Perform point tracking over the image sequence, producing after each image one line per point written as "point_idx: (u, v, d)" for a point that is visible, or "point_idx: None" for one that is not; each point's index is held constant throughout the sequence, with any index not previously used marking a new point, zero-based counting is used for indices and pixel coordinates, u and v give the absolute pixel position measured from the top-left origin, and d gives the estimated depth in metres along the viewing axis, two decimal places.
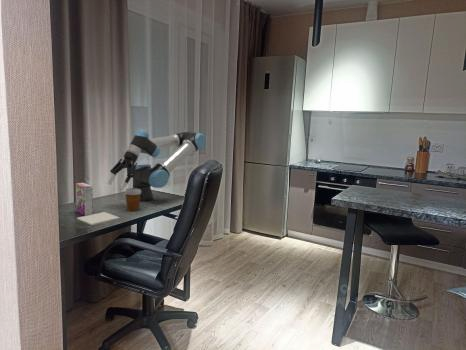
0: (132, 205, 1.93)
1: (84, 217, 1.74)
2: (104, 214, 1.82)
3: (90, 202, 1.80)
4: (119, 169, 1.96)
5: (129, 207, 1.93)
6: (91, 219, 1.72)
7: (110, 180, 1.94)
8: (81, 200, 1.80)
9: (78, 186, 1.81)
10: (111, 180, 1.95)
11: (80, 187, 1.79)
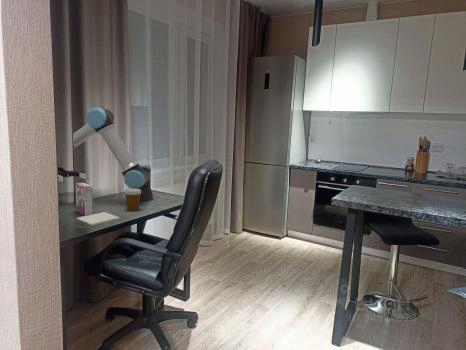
0: (132, 205, 1.93)
1: (84, 217, 1.74)
2: (104, 214, 1.82)
3: (90, 202, 1.80)
4: (72, 174, 1.96)
5: (129, 207, 1.93)
6: (91, 219, 1.72)
7: (83, 176, 1.93)
8: (81, 200, 1.80)
9: (78, 186, 1.81)
10: (82, 175, 1.93)
11: (80, 187, 1.79)
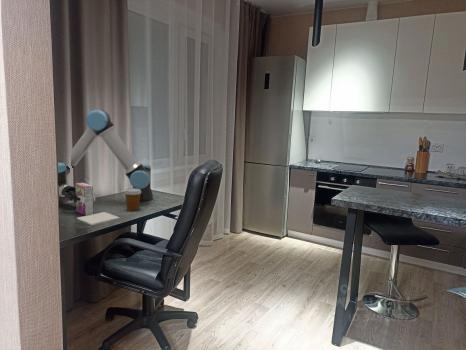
0: (132, 205, 1.93)
1: (84, 217, 1.74)
2: (104, 214, 1.82)
3: (91, 202, 1.80)
4: None
5: (129, 207, 1.93)
6: (91, 219, 1.72)
7: None
8: None
9: (78, 186, 1.81)
10: None
11: (80, 187, 1.79)
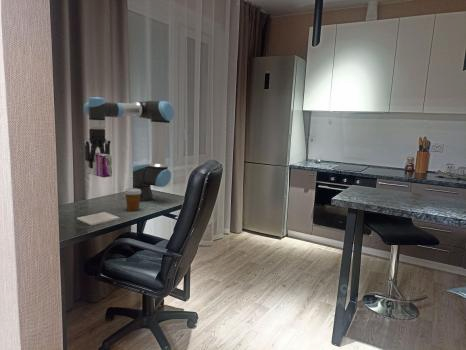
0: (132, 205, 1.93)
1: (84, 217, 1.74)
2: (104, 214, 1.82)
3: None
4: None
5: (129, 207, 1.93)
6: (91, 219, 1.72)
7: None
8: None
9: None
10: None
11: None
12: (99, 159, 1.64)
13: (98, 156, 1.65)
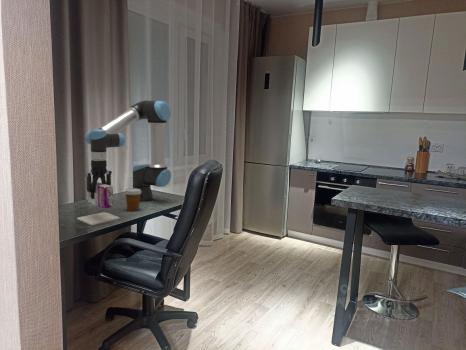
0: (132, 205, 1.93)
1: (84, 217, 1.74)
2: (104, 214, 1.82)
3: None
4: None
5: (129, 207, 1.93)
6: (91, 219, 1.72)
7: None
8: None
9: None
10: None
11: None
12: (101, 190, 1.67)
13: (100, 187, 1.67)
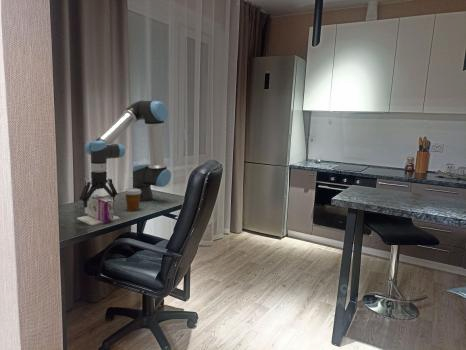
0: (132, 205, 1.93)
1: (84, 217, 1.74)
2: None
3: None
4: None
5: (129, 207, 1.93)
6: (91, 219, 1.72)
7: None
8: None
9: None
10: None
11: None
12: (101, 204, 1.68)
13: (101, 201, 1.69)
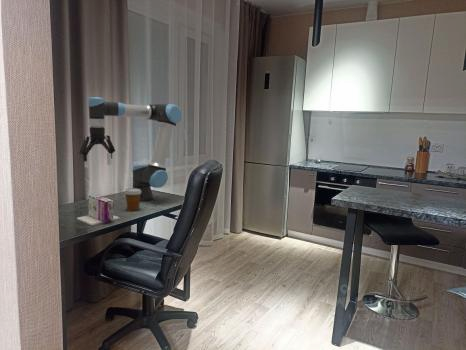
0: (132, 205, 1.93)
1: (84, 217, 1.74)
2: None
3: None
4: None
5: (129, 207, 1.93)
6: (91, 219, 1.72)
7: None
8: None
9: None
10: None
11: None
12: (101, 204, 1.69)
13: (101, 201, 1.69)
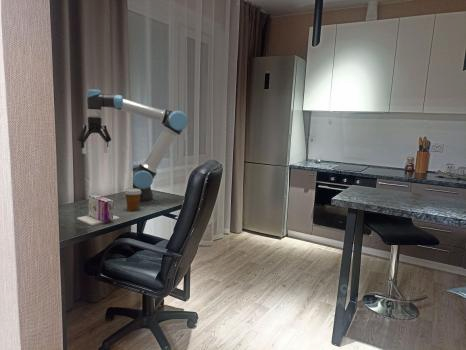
0: (132, 205, 1.93)
1: (84, 217, 1.74)
2: None
3: None
4: None
5: (129, 207, 1.93)
6: (91, 219, 1.72)
7: None
8: None
9: None
10: None
11: None
12: (101, 204, 1.68)
13: (101, 201, 1.69)
